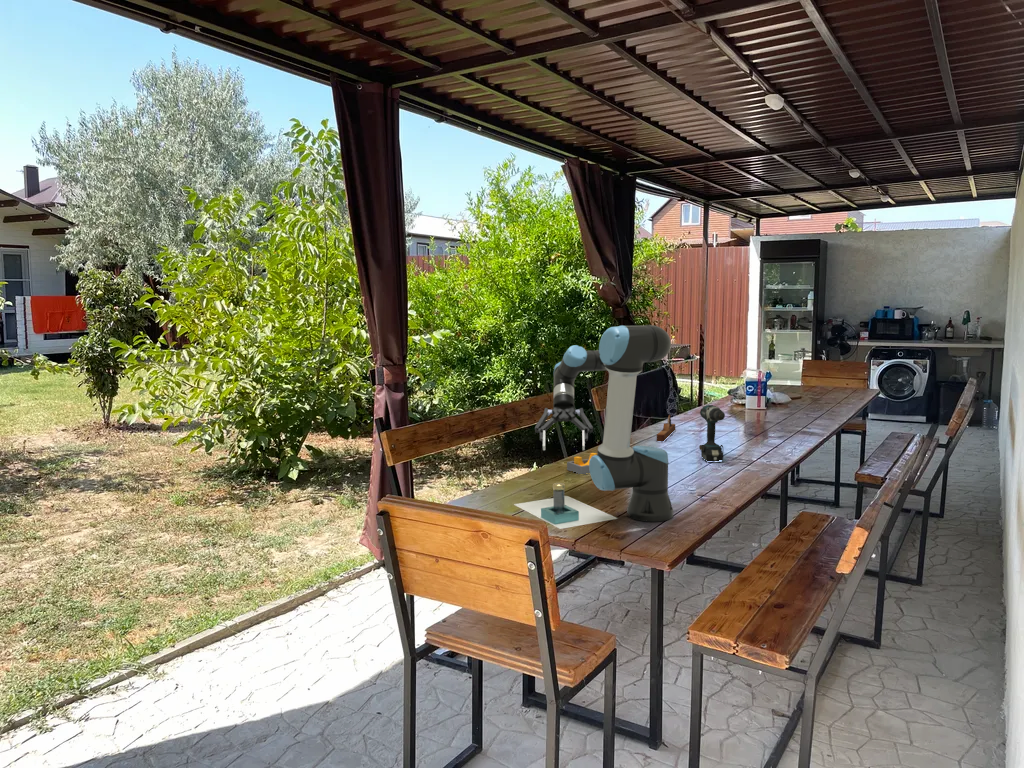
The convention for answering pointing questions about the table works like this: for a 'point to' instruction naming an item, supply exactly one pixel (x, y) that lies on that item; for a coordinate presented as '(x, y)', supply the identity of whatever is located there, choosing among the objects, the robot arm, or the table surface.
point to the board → (585, 511)
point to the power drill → (711, 433)
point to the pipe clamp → (579, 460)
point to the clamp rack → (578, 467)
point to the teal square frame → (559, 515)
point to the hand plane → (666, 430)
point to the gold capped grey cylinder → (558, 497)
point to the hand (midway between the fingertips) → (563, 448)
